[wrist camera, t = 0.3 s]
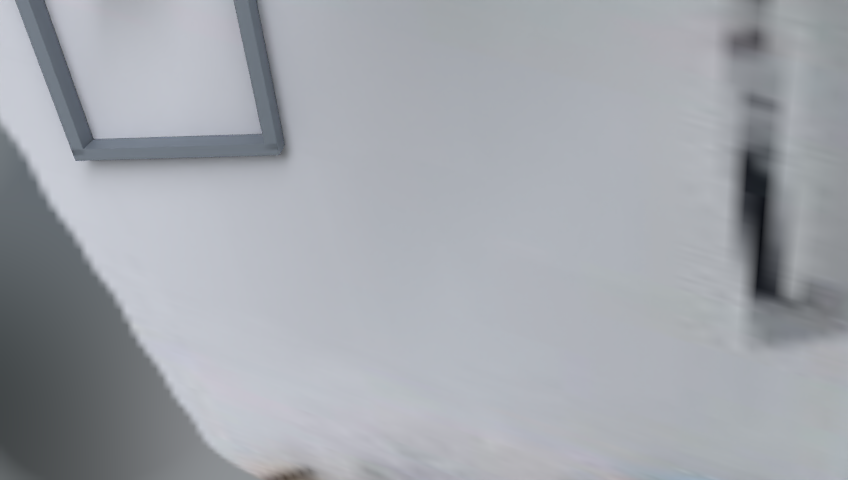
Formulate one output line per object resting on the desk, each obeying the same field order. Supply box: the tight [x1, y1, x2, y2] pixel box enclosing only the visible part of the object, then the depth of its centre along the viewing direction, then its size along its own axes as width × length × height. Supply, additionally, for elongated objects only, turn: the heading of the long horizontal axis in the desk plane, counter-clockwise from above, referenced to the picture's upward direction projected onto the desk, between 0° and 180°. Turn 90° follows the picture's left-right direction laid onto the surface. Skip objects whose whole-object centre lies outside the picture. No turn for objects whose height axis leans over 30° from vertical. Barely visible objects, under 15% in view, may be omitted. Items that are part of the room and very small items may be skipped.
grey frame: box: [15, 0, 285, 161], centre depth 56 cm, size 16×17×2 cm
